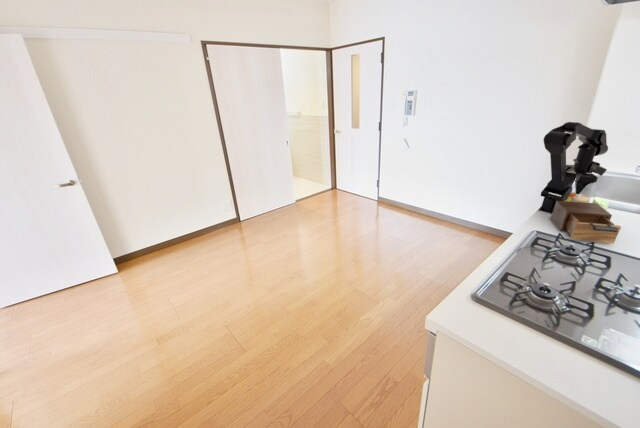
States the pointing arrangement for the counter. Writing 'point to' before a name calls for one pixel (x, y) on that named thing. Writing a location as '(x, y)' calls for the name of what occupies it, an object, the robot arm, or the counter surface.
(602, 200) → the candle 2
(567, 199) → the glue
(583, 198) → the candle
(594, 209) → the cabinet
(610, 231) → the drawer
